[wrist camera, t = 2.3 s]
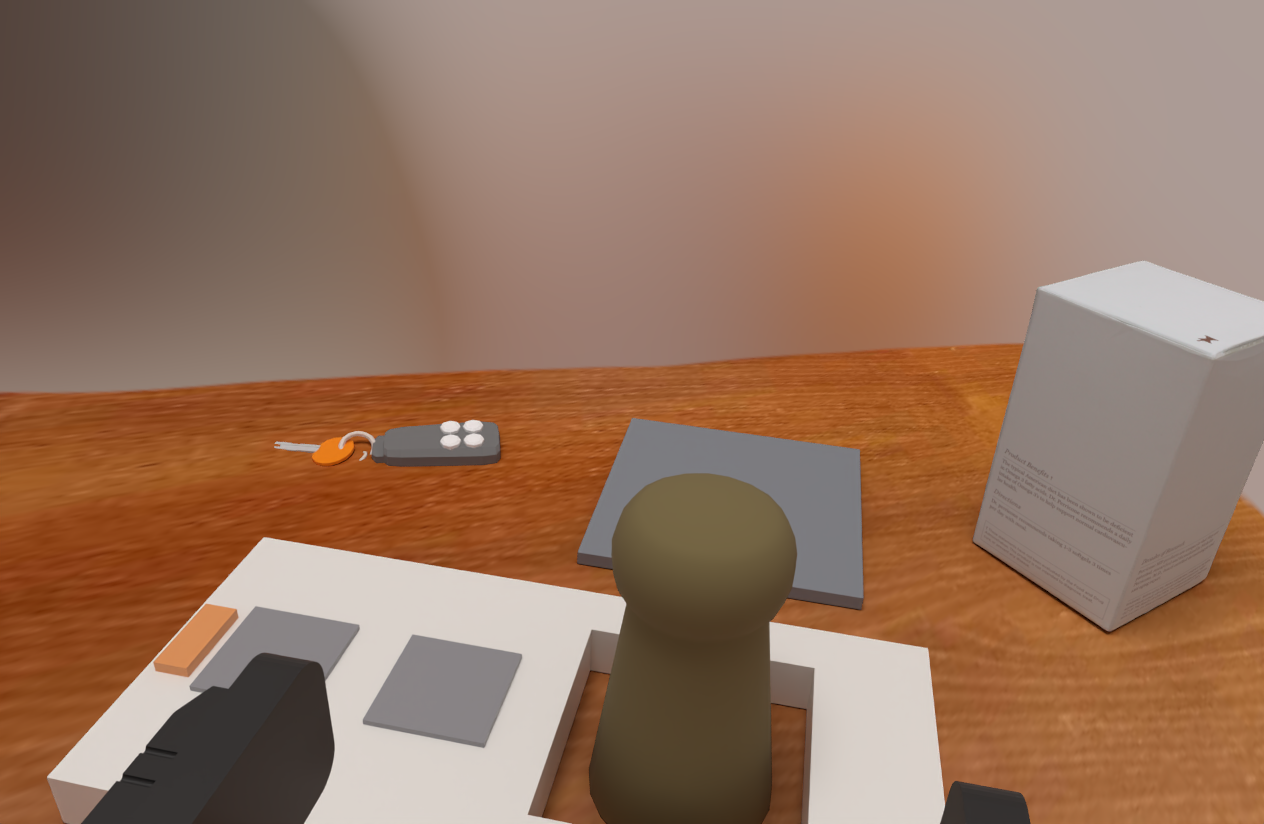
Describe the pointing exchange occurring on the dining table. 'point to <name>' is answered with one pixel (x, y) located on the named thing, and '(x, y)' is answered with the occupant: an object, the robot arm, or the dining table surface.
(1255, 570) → the dining table surface
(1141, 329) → the supplement box
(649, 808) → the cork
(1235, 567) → the dining table surface
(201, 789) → the robot arm
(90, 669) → the dining table surface
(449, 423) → the key chain
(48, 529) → the dining table surface
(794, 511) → the slate mat
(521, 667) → the socket strip
